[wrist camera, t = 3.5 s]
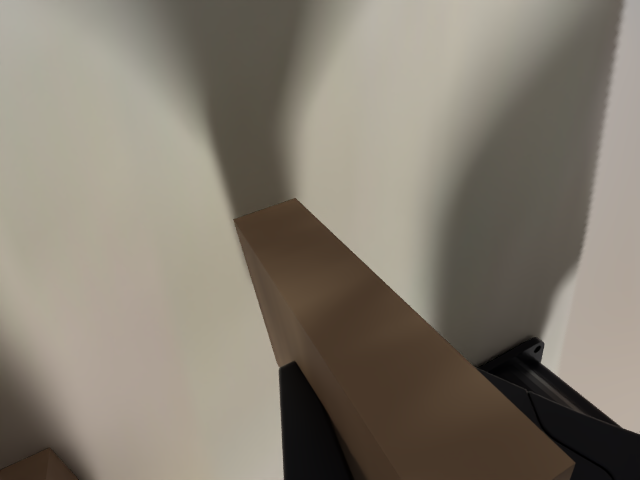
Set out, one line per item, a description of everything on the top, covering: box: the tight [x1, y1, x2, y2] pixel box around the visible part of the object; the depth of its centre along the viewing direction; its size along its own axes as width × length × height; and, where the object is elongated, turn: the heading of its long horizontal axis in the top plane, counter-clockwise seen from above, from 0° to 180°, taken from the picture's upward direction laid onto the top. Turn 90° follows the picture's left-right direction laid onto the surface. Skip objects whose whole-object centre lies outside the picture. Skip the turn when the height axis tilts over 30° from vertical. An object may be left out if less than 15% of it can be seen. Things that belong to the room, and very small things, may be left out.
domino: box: [233, 198, 575, 480], centre depth 8 cm, size 2×5×8 cm, turn 9°
